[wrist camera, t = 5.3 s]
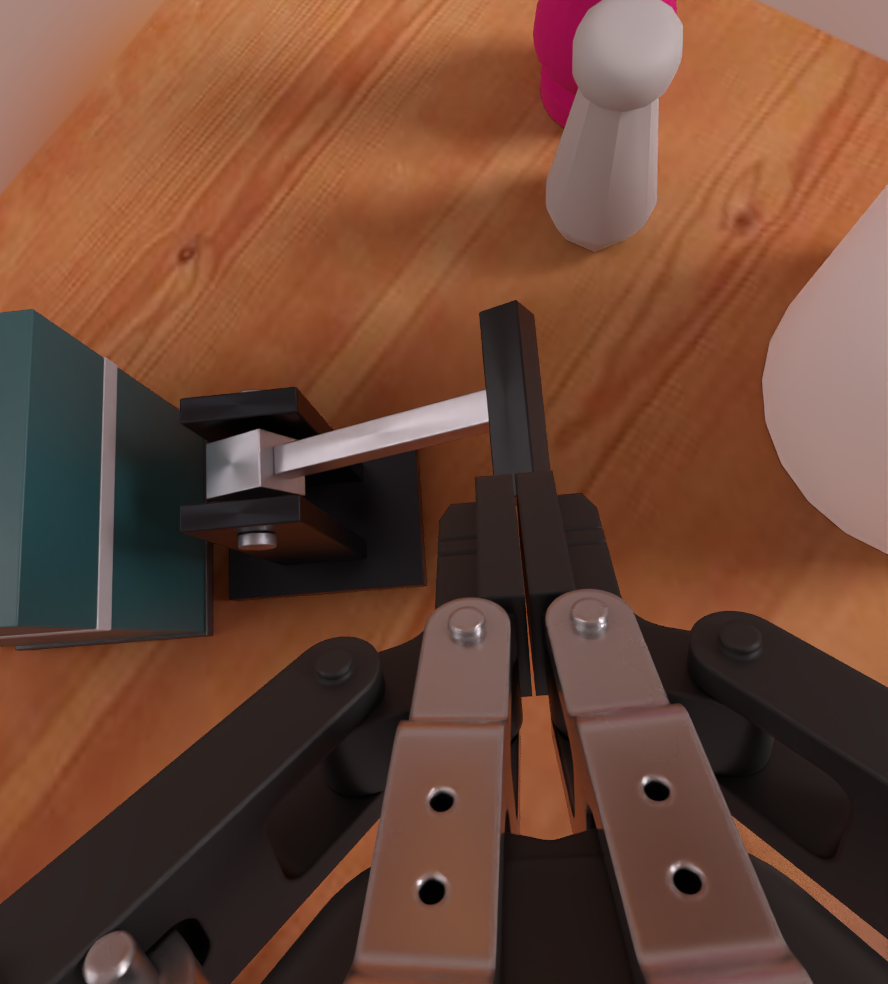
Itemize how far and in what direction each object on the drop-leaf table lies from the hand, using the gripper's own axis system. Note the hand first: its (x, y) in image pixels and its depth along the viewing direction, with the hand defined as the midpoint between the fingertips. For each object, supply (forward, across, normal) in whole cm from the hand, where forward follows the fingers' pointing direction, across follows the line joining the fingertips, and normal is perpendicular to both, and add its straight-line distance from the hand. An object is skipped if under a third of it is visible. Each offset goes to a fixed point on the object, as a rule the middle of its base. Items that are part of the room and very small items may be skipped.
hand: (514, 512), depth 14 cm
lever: (+11, +4, +4) cm, 13 cm away
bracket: (+20, +10, +13) cm, 25 cm away
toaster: (+19, +21, +13) cm, 31 cm away
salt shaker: (+31, -6, +2) cm, 31 cm away
